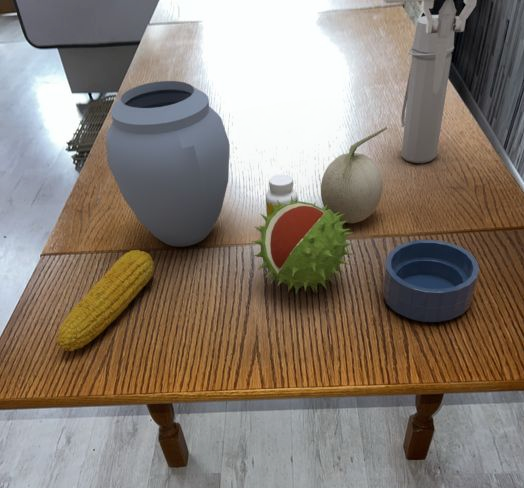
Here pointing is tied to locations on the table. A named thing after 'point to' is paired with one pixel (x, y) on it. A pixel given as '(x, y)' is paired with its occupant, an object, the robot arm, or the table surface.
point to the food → (106, 300)
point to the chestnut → (302, 244)
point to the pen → (443, 40)
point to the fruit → (352, 185)
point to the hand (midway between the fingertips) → (444, 31)
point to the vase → (169, 159)
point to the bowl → (429, 280)
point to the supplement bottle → (280, 192)
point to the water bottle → (424, 97)
